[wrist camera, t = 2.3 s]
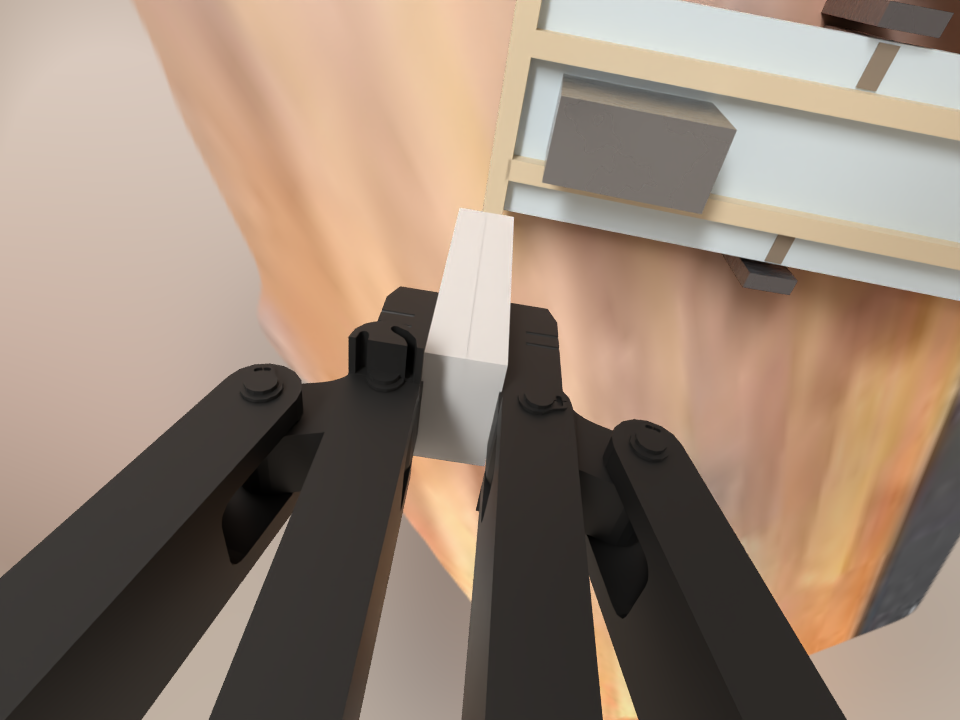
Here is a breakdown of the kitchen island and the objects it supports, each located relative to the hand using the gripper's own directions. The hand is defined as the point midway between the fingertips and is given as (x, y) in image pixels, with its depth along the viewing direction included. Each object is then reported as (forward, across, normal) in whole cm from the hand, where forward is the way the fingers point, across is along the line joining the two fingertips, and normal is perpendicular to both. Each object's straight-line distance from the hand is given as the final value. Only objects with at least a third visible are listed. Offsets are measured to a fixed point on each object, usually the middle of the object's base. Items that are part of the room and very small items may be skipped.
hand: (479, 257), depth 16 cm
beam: (+18, +18, 0) cm, 26 cm away
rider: (+18, +7, 0) cm, 19 cm away
